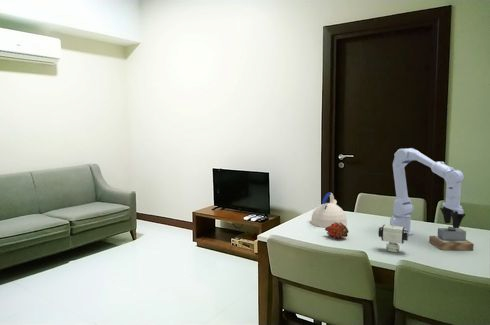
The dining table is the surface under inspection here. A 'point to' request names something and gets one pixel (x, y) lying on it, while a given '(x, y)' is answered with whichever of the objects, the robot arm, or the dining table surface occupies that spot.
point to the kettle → (328, 213)
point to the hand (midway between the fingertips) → (451, 225)
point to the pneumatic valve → (393, 236)
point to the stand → (451, 244)
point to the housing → (451, 234)
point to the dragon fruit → (337, 230)
